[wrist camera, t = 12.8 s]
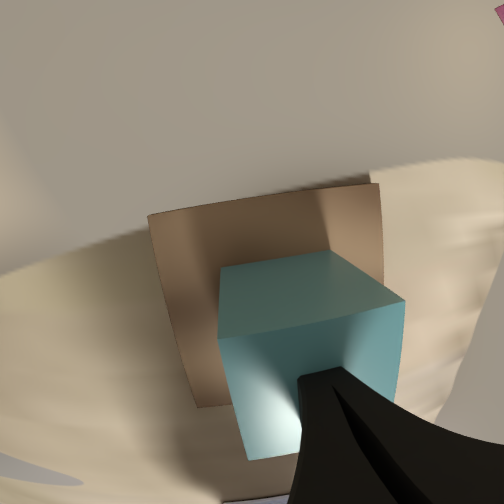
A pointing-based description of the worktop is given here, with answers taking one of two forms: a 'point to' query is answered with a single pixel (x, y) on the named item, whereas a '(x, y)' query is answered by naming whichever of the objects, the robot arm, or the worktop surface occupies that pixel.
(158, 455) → the worktop surface
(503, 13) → the box
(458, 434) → the robot arm
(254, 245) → the post board
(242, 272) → the teal rectangular block
